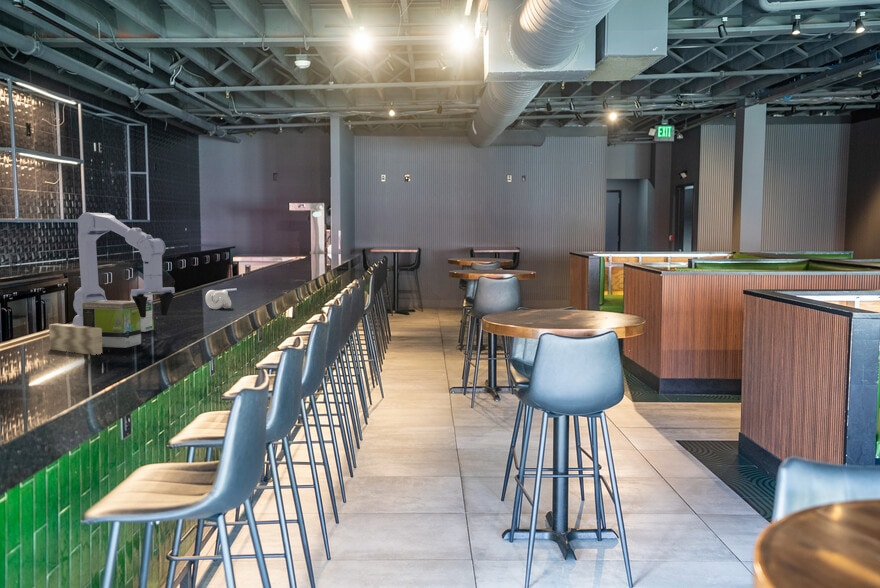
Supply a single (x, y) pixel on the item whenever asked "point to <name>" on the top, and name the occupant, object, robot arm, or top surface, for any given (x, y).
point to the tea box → (114, 322)
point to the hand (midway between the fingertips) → (153, 316)
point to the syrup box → (147, 315)
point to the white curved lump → (218, 299)
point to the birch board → (75, 338)
